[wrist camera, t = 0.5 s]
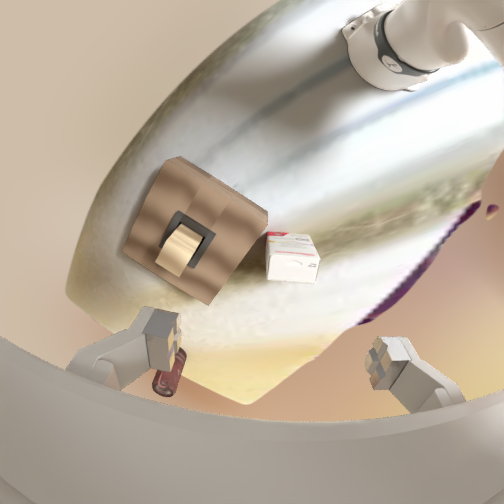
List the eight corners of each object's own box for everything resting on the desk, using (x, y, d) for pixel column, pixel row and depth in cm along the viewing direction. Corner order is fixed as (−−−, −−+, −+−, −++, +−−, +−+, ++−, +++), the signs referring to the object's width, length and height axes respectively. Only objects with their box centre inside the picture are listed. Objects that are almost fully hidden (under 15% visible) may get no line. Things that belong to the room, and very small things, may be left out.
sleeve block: (180, 156, 48) (163, 160, 40) (267, 211, 52) (267, 226, 44) (138, 237, 56) (119, 254, 47) (215, 284, 59) (207, 308, 51)
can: (180, 342, 68) (166, 382, 55) (190, 358, 70) (178, 397, 57) (161, 345, 69) (145, 383, 56) (172, 361, 71) (159, 398, 58)
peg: (183, 220, 46) (166, 239, 38) (205, 234, 47) (192, 255, 39) (172, 240, 48) (155, 262, 40) (193, 252, 49) (179, 277, 40)
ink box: (264, 252, 56) (264, 281, 45) (267, 228, 53) (267, 254, 43) (306, 256, 55) (315, 286, 45) (310, 233, 53) (321, 258, 43)
